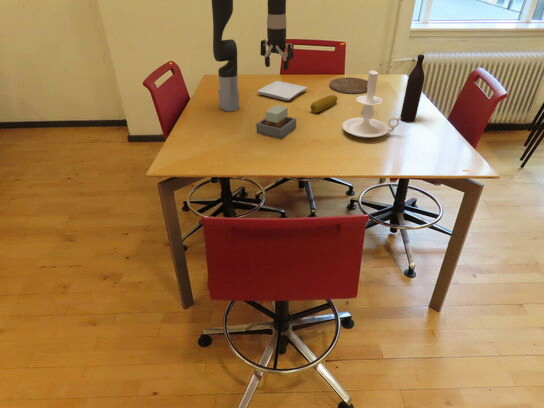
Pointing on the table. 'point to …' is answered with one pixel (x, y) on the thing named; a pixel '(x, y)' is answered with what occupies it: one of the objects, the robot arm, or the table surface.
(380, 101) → the candlestick
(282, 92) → the salad plate
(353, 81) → the trivet
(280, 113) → the sage carton
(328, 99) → the food
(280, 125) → the walnut block
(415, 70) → the wine bottle
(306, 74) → the table surface
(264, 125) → the tray
